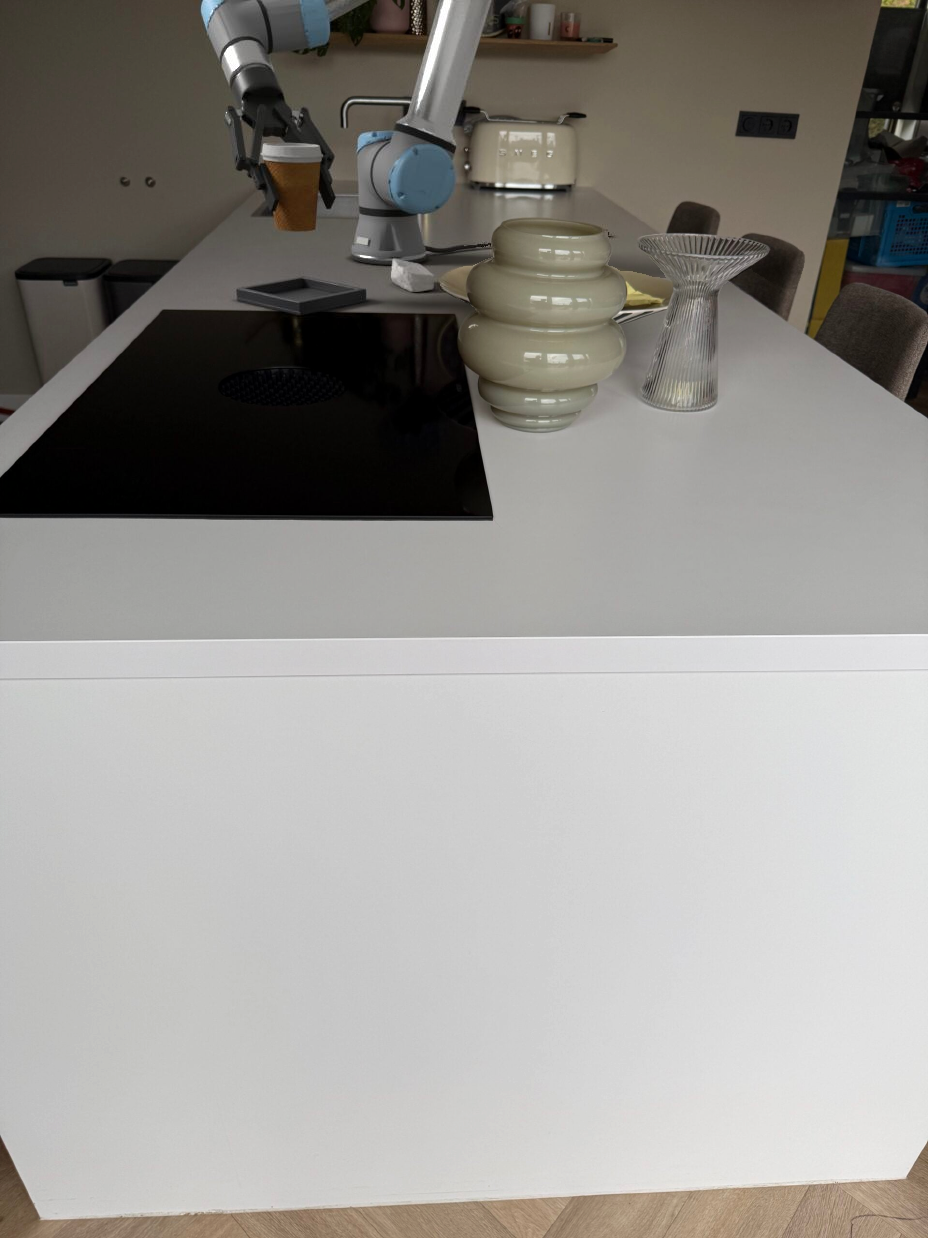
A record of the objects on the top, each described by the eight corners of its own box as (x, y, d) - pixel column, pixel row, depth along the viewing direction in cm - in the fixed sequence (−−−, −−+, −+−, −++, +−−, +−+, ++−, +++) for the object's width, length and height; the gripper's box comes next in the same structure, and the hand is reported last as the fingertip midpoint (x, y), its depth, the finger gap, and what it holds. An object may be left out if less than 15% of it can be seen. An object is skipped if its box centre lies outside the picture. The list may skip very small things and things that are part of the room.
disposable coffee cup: (253, 229, 144) (247, 143, 138) (286, 222, 152) (281, 141, 146) (306, 235, 141) (302, 148, 135) (336, 228, 149) (334, 145, 143)
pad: (304, 287, 161) (303, 275, 160) (366, 301, 153) (366, 288, 152) (236, 300, 150) (235, 287, 149) (300, 315, 143) (299, 302, 142)
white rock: (427, 311, 163) (439, 281, 159) (394, 302, 160) (405, 272, 157) (417, 282, 169) (428, 253, 166) (385, 274, 167) (395, 244, 163)
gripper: (308, 102, 154) (357, 217, 151) (183, 99, 143) (232, 223, 140) (321, 65, 147) (372, 185, 144) (191, 60, 137) (243, 189, 134)
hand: (303, 204), depth 142 cm, fingers closed on disposable coffee cup, 9 cm apart
